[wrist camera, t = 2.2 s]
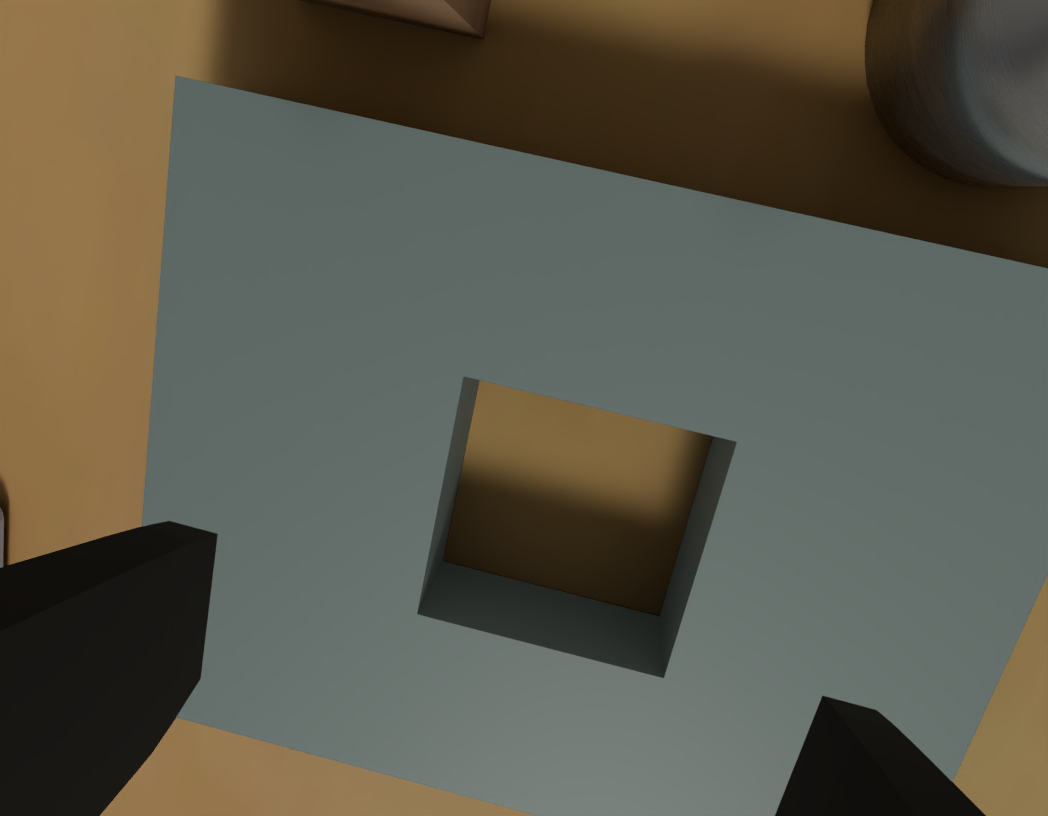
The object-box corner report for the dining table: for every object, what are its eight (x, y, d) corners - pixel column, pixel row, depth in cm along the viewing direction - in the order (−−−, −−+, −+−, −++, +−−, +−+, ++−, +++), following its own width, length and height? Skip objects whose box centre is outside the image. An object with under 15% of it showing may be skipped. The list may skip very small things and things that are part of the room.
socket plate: (185, 645, 21) (128, 704, 19) (238, 90, 17) (175, 75, 15) (861, 825, 20) (892, 912, 18) (1092, 279, 16) (1175, 296, 13)
